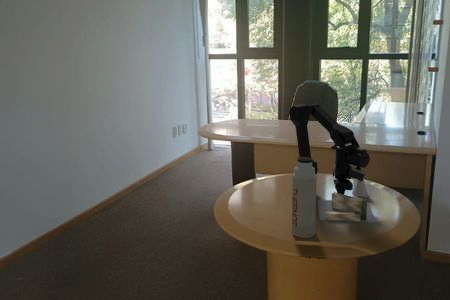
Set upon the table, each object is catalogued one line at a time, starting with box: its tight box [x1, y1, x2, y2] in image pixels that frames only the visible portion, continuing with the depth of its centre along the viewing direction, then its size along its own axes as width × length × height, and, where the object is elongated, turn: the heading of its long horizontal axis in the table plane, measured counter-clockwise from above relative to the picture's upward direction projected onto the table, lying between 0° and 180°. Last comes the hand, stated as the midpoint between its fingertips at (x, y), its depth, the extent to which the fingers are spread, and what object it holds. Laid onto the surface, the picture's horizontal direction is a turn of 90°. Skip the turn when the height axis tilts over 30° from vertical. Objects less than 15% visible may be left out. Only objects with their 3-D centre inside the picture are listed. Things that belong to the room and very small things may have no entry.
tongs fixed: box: [324, 199, 368, 222], centre depth 150 cm, size 15×4×7 cm, turn 79°
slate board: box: [317, 199, 377, 224], centre depth 158 cm, size 20×20×1 cm
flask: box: [351, 178, 369, 198], centre depth 174 cm, size 7×7×10 cm
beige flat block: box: [331, 191, 363, 215], centre depth 156 cm, size 12×2×6 cm, turn 44°
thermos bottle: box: [291, 157, 318, 239], centre depth 138 cm, size 8×8×28 cm
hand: (341, 199), depth 161 cm, fingers closed
